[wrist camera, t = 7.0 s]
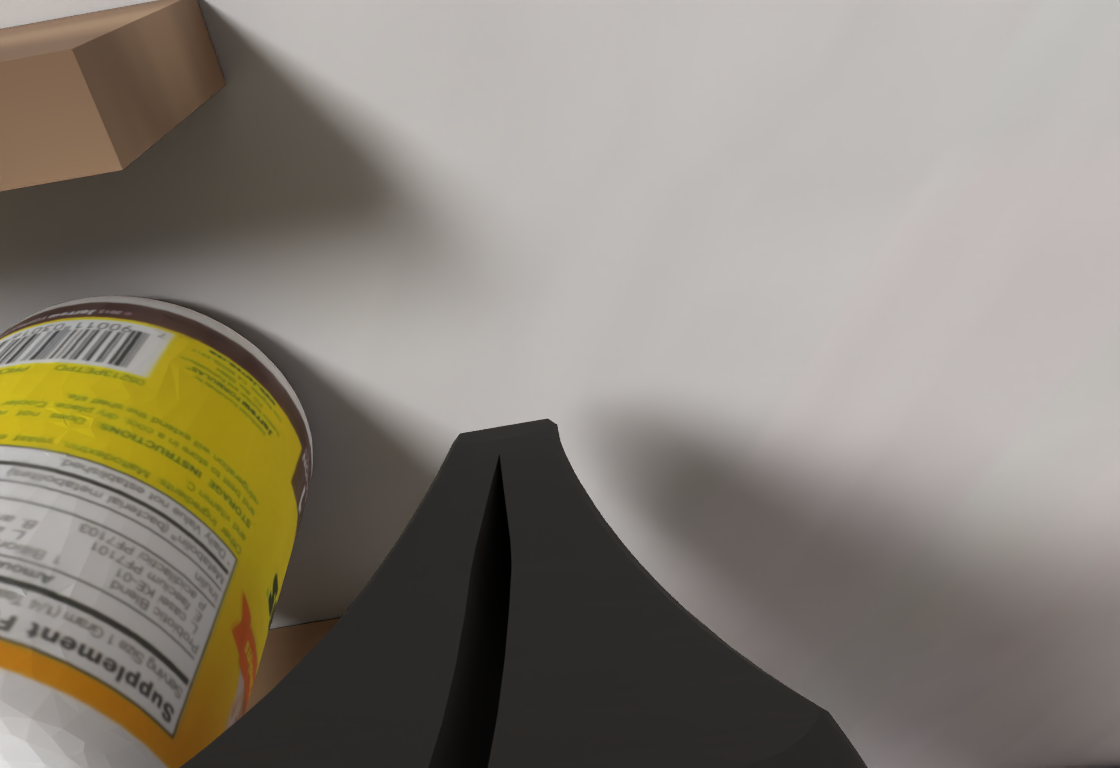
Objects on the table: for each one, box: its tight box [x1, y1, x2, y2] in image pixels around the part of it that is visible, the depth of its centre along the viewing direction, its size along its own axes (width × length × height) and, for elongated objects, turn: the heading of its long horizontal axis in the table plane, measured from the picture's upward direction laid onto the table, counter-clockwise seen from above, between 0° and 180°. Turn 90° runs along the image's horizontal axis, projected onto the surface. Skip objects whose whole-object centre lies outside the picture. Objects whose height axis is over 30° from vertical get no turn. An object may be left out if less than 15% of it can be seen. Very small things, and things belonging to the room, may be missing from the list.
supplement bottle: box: [0, 296, 313, 768], centre depth 11 cm, size 6×6×10 cm
